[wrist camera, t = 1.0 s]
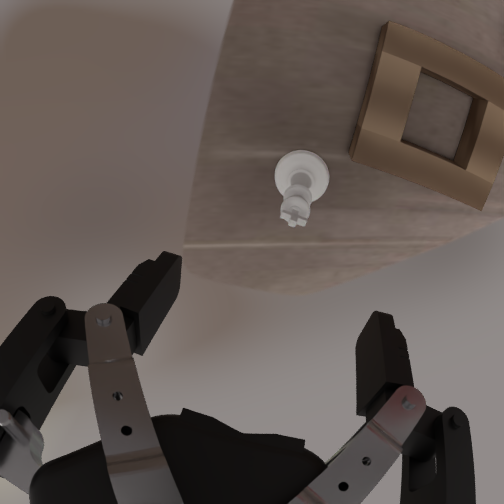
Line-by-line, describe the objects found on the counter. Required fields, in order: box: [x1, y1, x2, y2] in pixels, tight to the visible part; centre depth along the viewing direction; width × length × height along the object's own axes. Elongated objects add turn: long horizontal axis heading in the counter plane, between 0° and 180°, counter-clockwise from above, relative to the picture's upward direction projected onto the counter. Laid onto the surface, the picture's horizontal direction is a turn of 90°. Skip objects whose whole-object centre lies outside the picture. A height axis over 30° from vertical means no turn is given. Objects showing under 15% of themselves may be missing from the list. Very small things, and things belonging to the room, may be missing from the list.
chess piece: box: [275, 150, 329, 228], centre depth 24 cm, size 5×5×10 cm
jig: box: [349, 21, 504, 211], centre depth 21 cm, size 12×13×3 cm
